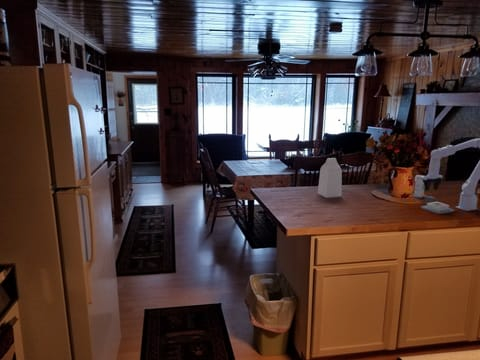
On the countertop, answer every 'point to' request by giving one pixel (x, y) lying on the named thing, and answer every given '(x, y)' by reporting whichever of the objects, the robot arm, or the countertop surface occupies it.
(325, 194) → the milk
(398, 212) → the countertop surface
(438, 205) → the socket plate
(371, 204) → the countertop surface
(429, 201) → the plug
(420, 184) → the syrup box
